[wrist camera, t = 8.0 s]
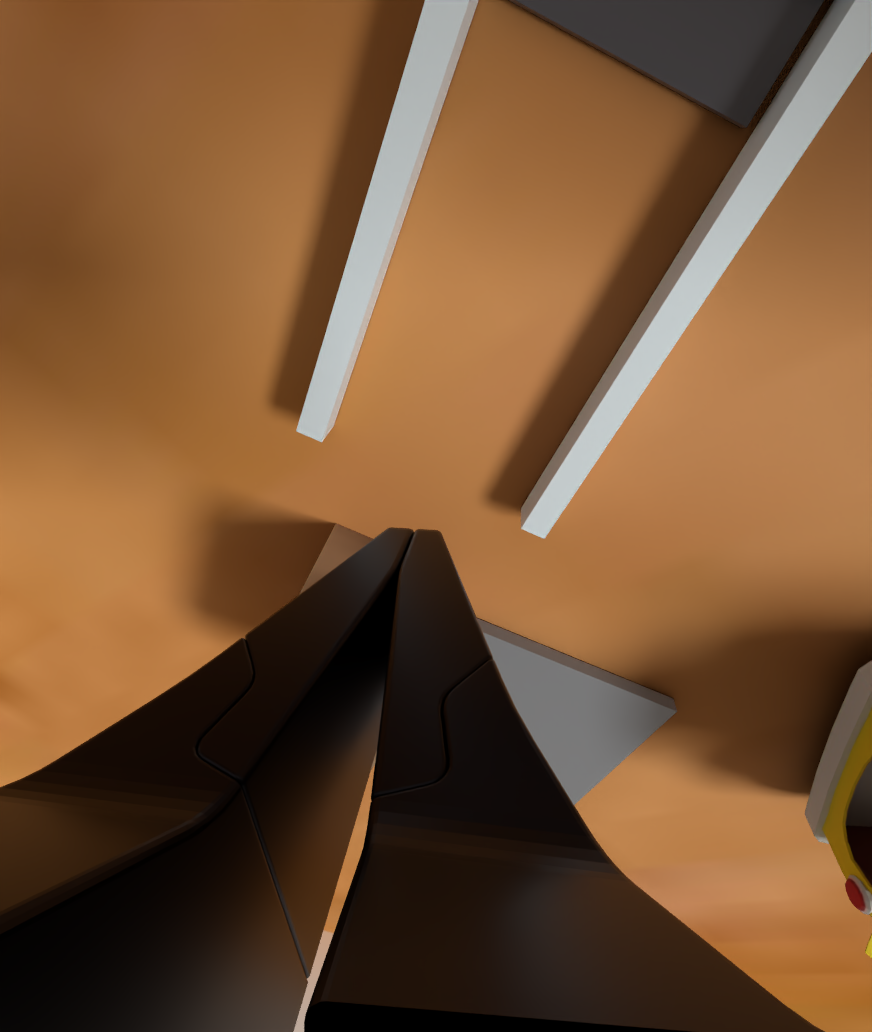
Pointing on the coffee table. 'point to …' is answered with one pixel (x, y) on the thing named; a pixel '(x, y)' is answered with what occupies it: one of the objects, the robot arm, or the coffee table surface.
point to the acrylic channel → (716, 236)
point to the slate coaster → (575, 709)
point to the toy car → (848, 792)
